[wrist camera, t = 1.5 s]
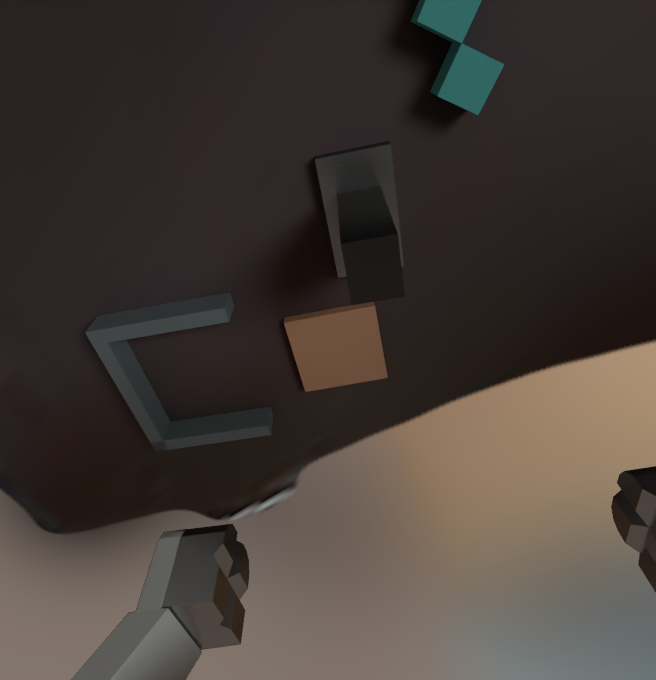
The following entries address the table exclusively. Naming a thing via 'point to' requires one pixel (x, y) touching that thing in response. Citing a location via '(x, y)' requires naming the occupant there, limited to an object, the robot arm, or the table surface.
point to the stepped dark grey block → (363, 220)
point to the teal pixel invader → (458, 53)
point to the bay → (138, 391)
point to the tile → (337, 346)
